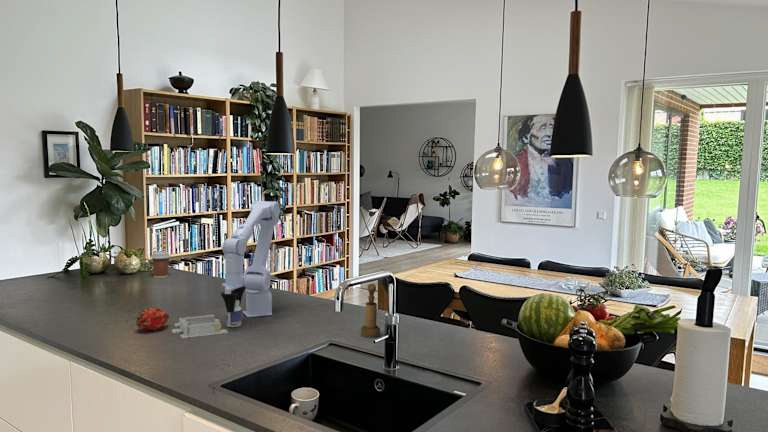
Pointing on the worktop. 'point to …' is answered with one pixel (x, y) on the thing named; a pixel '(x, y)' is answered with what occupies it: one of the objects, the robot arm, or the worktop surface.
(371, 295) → the brown wooden tall piece
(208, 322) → the socket
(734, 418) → the worktop surface
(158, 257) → the coffee cup
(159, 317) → the dragon fruit
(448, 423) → the worktop surface
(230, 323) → the pill bottle
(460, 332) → the worktop surface
